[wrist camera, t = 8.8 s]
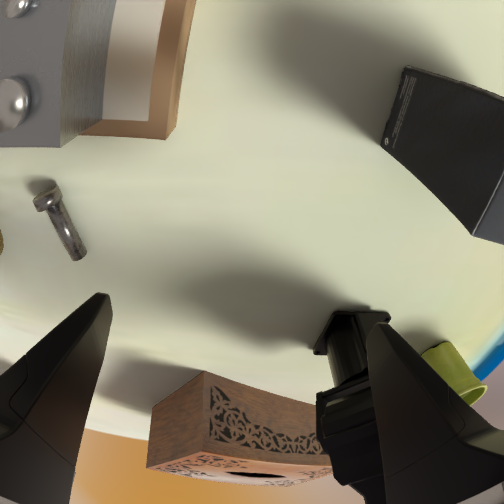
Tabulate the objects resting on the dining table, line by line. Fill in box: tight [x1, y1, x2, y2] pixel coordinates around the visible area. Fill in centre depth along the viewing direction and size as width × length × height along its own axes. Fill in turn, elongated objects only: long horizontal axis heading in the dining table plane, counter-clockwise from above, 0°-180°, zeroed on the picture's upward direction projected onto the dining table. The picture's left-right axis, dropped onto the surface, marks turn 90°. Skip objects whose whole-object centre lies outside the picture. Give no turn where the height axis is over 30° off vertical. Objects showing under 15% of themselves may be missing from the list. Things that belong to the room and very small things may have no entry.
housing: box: [0, 0, 117, 148], centre depth 9 cm, size 5×8×5 cm, turn 169°
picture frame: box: [79, 0, 196, 140], centre depth 12 cm, size 10×12×3 cm
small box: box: [381, 65, 504, 245], centre depth 13 cm, size 11×6×10 cm, turn 79°
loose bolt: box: [33, 186, 87, 261], centre depth 19 cm, size 6×2×2 cm, turn 9°
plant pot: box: [421, 342, 487, 406], centre depth 31 cm, size 9×9×9 cm
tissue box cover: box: [146, 371, 333, 486], centre depth 37 cm, size 26×14×10 cm, turn 51°
